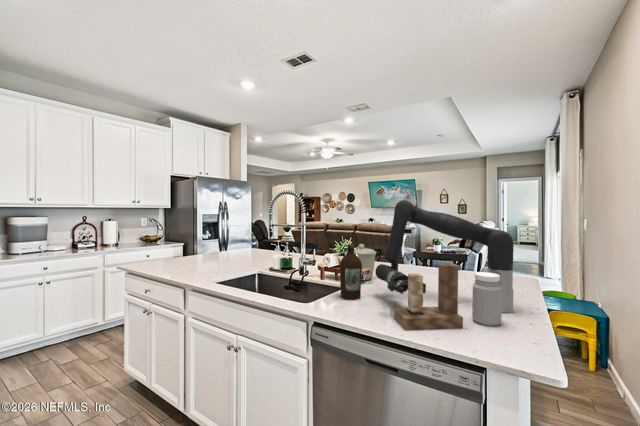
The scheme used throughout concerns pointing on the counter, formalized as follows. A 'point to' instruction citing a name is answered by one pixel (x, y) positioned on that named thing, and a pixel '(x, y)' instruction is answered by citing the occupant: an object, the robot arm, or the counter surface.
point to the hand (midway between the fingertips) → (413, 290)
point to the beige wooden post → (415, 294)
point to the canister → (366, 259)
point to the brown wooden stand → (447, 305)
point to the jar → (487, 299)
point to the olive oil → (350, 275)
